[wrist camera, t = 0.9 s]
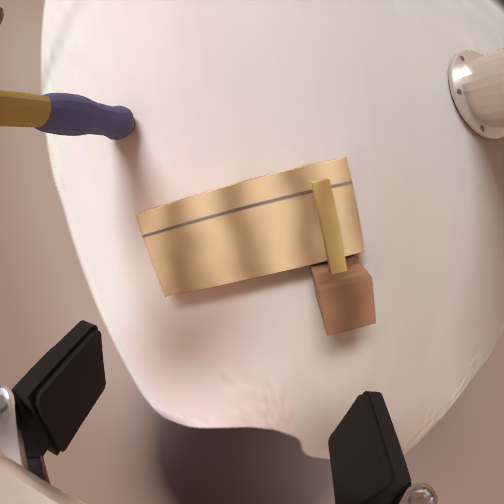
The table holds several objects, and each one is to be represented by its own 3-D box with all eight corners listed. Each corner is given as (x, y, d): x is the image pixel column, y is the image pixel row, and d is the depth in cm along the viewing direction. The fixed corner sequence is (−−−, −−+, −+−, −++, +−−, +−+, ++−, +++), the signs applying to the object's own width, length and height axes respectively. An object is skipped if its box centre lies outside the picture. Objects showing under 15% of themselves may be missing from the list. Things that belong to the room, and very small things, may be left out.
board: (340, 158, 29) (346, 157, 26) (358, 244, 31) (364, 251, 29) (144, 211, 32) (135, 215, 30) (171, 288, 35) (164, 296, 32)
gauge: (335, 173, 29) (355, 177, 22) (356, 289, 33) (375, 322, 25) (290, 183, 30) (296, 190, 22) (316, 298, 34) (327, 335, 26)
